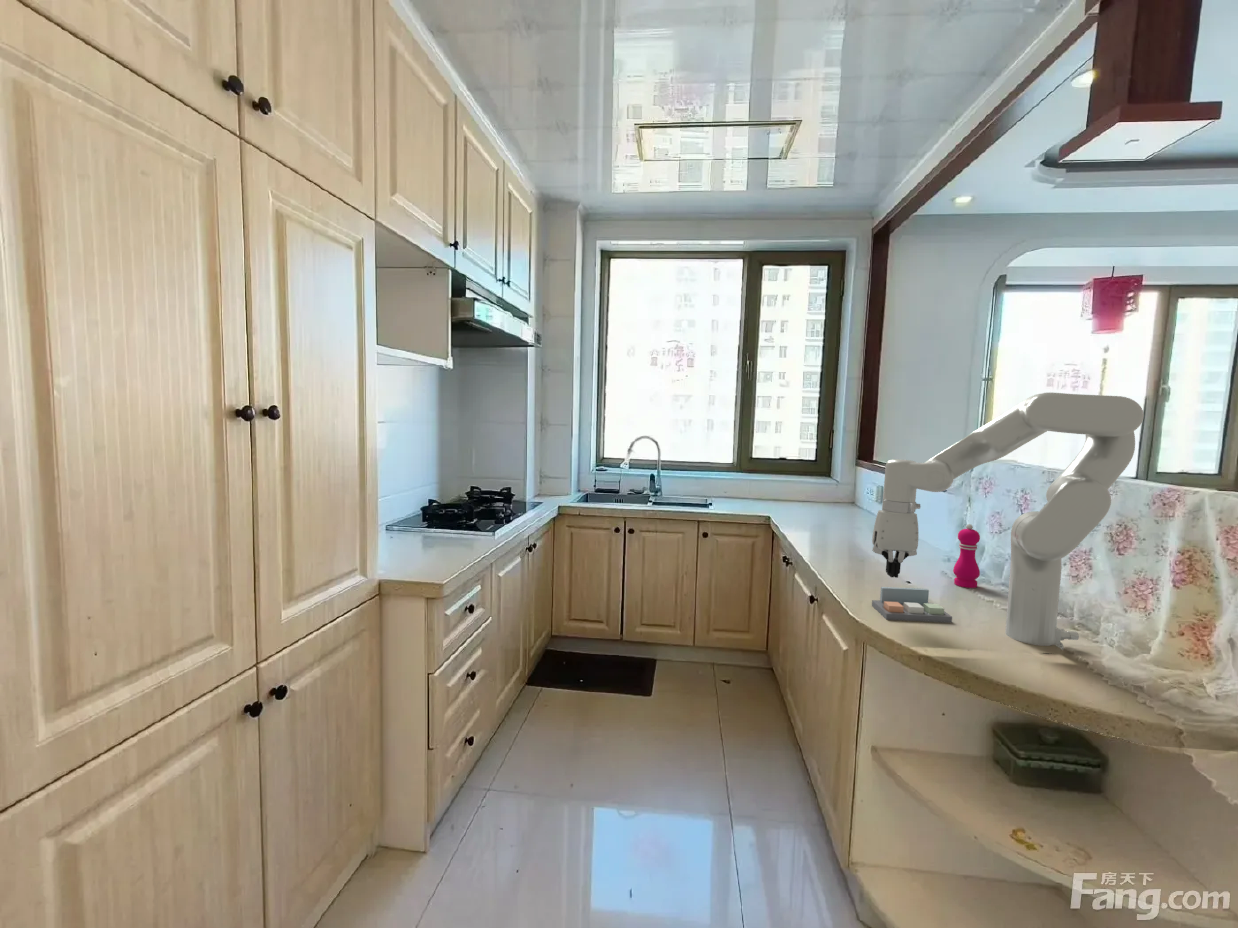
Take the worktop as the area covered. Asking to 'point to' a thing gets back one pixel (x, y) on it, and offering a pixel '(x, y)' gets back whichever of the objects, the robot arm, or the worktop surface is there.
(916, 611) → the white key
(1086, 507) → the robot arm
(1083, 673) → the worktop surface
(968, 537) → the pepper mill
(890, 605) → the terracotta key
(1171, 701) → the worktop surface
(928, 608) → the sage key
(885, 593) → the keypad
